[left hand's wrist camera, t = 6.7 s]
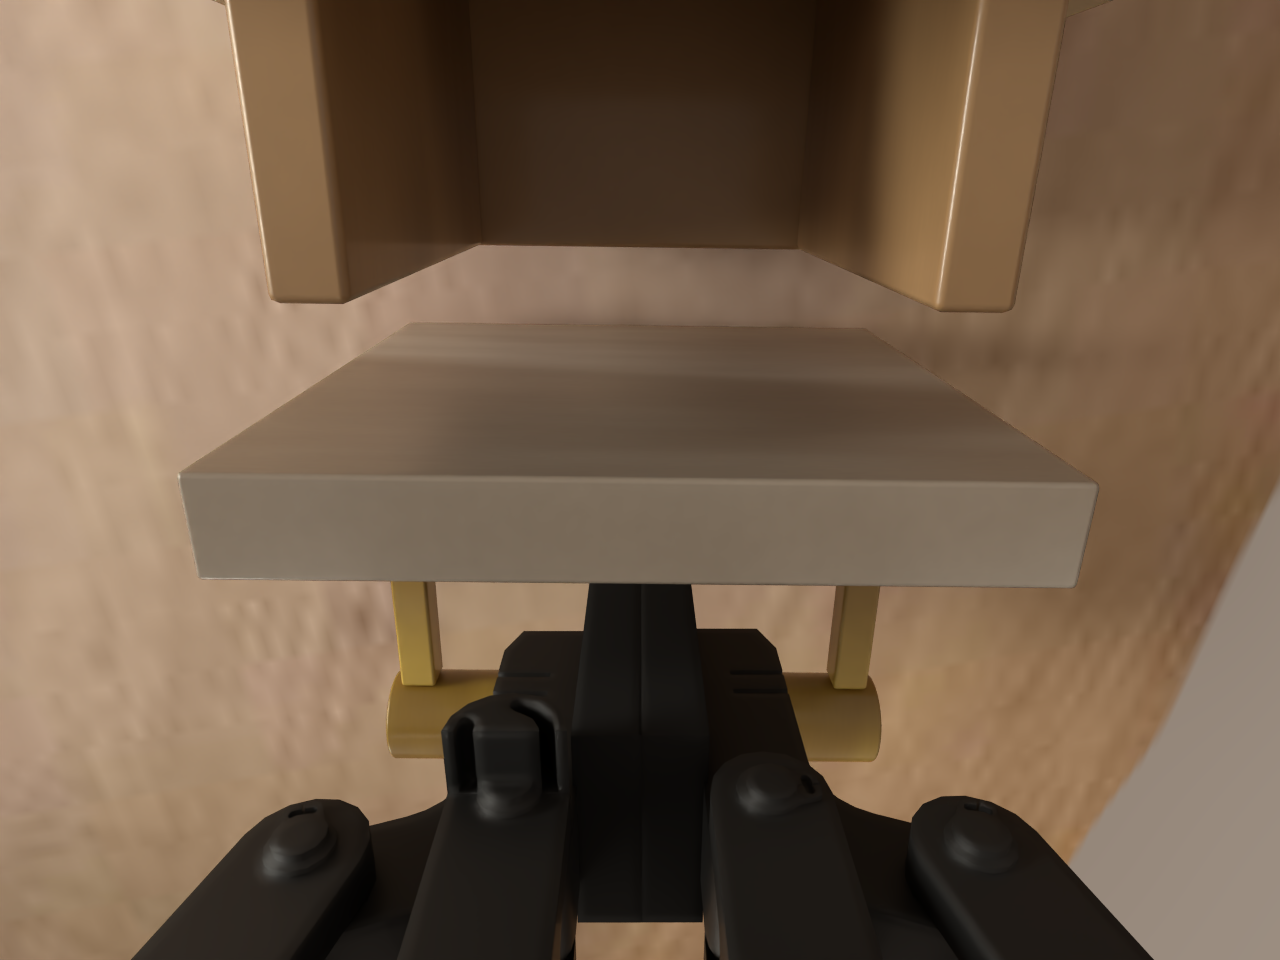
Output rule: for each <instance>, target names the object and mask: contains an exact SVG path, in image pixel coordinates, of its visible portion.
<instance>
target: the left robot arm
mask: <svg viewBox="0 0 1280 960" xmlns="http://www.w3.org/2000/svg"><path fill="white" fill-rule="evenodd" d="M441 737H442V746H443V755H444V764H445V773H446V782H447V791H448V794H447V798H446V799H445V800H444V801H442V802H440V803H438V804H437V805H435V806H433V807H431V808H429V809H427V810H425V811H422V812H419V813H416V814H413V815H410V816H407V817H403V818H399V819H395V820H391V821H387V822H383V823H379V824H375V825H371V826H369V821H368V819H367V818H366V817H365V816H364V814H363V813H362V812H361V811H360V809H359V808H358V807H356V806H354V805H351V804H349V803H346V802H344V801H341V800H331V799H314V800H310V801H306V802H301V803H297V804H293V805H289V806H287V807H285V808H283V809H281V810H279V811H277V812H275V813H273V814H271V815H269V816H267V817H265V818H264V819H263V820H262V821H261V822H259V823H258V824H257V825H256V826H255V827H253V828H252V829H251V830H250V831H249V832H247V833H246V834H245V835H244V836H243V837H242V838H241V839H240V840H239V842H238V843H237V844H236V845H235V846H234V847H233V848H232V849H231V850H230V851H229V853H228V854H227V855H226V856H225V857H224V858H223V859H222V860H221V861H220V862H219V864H218V865H217V866H216V867H215V868H214V869H213V870H212V871H211V872H210V873H209V875H208V876H207V877H206V878H205V879H204V880H203V881H202V882H201V883H200V884H199V886H198V887H197V888H196V889H195V890H194V891H193V892H192V893H191V894H190V895H189V897H188V898H187V899H186V900H185V901H184V902H183V903H182V904H181V905H180V906H179V908H178V909H177V910H176V911H175V912H174V913H173V914H172V915H171V916H170V917H169V919H168V920H167V921H166V922H165V923H164V924H163V925H162V926H161V927H160V928H159V930H158V931H157V932H156V933H155V934H154V935H153V936H152V937H151V938H150V940H149V941H148V942H147V943H146V944H145V945H144V946H143V947H142V948H141V949H140V951H139V952H138V953H137V954H136V955H135V956H134V957H133V958H132V959H131V960H576V942H575V935H576V924H577V914H578V922H703V915H704V927H705V942H704V960H1154V959H1153V958H1152V957H1151V956H1150V955H1149V954H1148V953H1147V952H1146V951H1145V950H1144V948H1143V947H1142V946H1141V945H1140V944H1139V943H1138V942H1137V941H1136V940H1135V939H1134V937H1133V936H1132V935H1131V934H1130V933H1129V932H1128V931H1127V930H1126V929H1125V928H1124V927H1123V925H1122V924H1121V923H1120V922H1119V921H1118V920H1117V919H1116V918H1115V917H1114V916H1113V915H1112V913H1111V912H1110V911H1109V910H1108V909H1107V908H1106V907H1105V906H1104V905H1103V904H1102V903H1101V901H1100V900H1099V899H1098V898H1097V897H1096V896H1095V895H1094V894H1093V893H1092V892H1091V890H1090V889H1089V888H1088V887H1087V886H1086V885H1085V884H1084V883H1083V882H1082V881H1081V880H1080V878H1079V877H1078V876H1077V875H1076V874H1075V873H1074V872H1073V871H1072V870H1071V869H1070V868H1069V866H1068V865H1067V864H1066V863H1065V862H1064V861H1063V860H1062V859H1061V858H1060V857H1059V855H1058V854H1057V853H1056V852H1055V851H1054V850H1053V849H1052V848H1051V847H1050V846H1049V845H1048V843H1047V842H1046V841H1045V840H1044V839H1043V838H1042V837H1041V836H1040V835H1039V834H1038V833H1037V831H1035V830H1034V829H1033V828H1032V827H1031V826H1029V825H1028V824H1027V823H1026V822H1025V821H1023V820H1022V819H1021V818H1020V817H1019V816H1017V815H1016V814H1014V813H1012V812H1010V811H1008V810H1006V809H1004V808H1002V807H1000V806H998V805H996V804H994V803H992V802H989V801H985V800H981V799H976V798H972V797H968V796H943V797H939V798H937V799H934V800H932V801H929V802H927V803H924V804H923V805H922V806H921V807H920V808H919V810H918V811H917V812H916V813H915V815H914V816H913V817H912V822H911V823H910V822H906V821H902V820H898V819H894V818H890V817H886V816H882V815H878V814H874V813H871V812H868V811H865V810H862V809H859V808H856V807H854V806H852V805H850V804H848V803H846V802H844V801H842V800H841V799H839V798H837V797H836V796H835V795H833V793H832V791H831V790H830V788H829V786H828V784H827V783H826V781H825V779H824V778H823V776H822V775H821V774H819V773H818V772H817V771H816V770H814V769H813V768H812V767H811V766H810V765H809V762H808V759H807V755H806V752H805V748H804V744H803V741H802V737H801V734H800V730H799V727H798V723H797V720H796V716H795V713H794V709H793V706H792V702H791V699H790V695H789V694H788V688H787V685H786V681H785V678H784V675H782V667H781V664H780V660H779V657H778V653H777V650H776V648H775V647H774V646H773V645H772V644H771V643H770V642H769V641H768V640H767V639H766V638H765V637H764V636H763V635H762V634H761V633H760V632H759V631H758V630H757V629H697V628H696V620H695V612H694V604H693V596H692V588H691V584H614V583H589V591H588V599H587V607H586V616H585V624H584V631H524V632H523V633H522V634H521V635H520V636H519V637H518V638H517V639H516V640H515V641H514V642H513V643H512V644H511V645H510V646H509V647H508V648H507V649H506V650H505V651H504V655H503V658H502V662H501V665H500V669H499V672H498V677H497V679H496V683H495V686H494V690H493V695H490V696H487V697H484V698H482V699H479V700H476V701H474V702H471V703H468V704H467V705H465V706H464V707H463V708H461V709H460V710H458V711H457V712H456V713H454V714H453V715H452V716H451V717H450V718H449V720H448V721H447V723H446V724H445V726H444V727H443V729H442V730H441Z"/></svg>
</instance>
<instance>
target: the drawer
mask: <svg viewBox="0 0 1280 960" xmlns="http://www.w3.org/2000/svg"><path fill="white" fill-rule="evenodd" d="M1068 4H1069V0H225V6H226V13H227V20H228V26H229V33H230V40H231V46H232V53H233V60H234V67H235V73H236V80H237V87H238V93H239V100H240V107H241V113H242V120H243V127H244V133H245V140H246V147H247V153H248V160H249V167H250V173H251V180H252V187H253V193H254V200H255V207H256V214H257V220H258V227H259V234H260V240H261V247H262V254H263V260H264V267H265V274H266V280H267V287H268V294H269V296H270V298H271V300H274V301H276V302H279V303H315V304H344V303H346V302H349V301H351V300H353V299H356V298H358V297H360V296H362V295H365V294H367V293H369V292H372V291H374V290H376V289H379V288H381V287H383V286H385V285H388V284H390V283H392V282H395V281H397V280H399V279H401V278H404V277H406V276H408V275H411V274H413V273H415V272H418V271H420V270H422V269H424V268H427V267H429V266H431V265H434V264H436V263H438V262H441V261H443V260H445V259H447V258H450V257H452V256H454V255H457V254H459V253H461V252H463V251H466V250H468V249H470V248H473V247H475V246H477V245H522V246H593V247H663V248H734V249H800V250H803V251H805V252H807V253H809V254H812V255H814V256H816V257H818V258H821V259H823V260H825V261H827V262H830V263H832V264H834V265H836V266H839V267H841V268H843V269H845V270H848V271H850V272H852V273H854V274H857V275H859V276H861V277H863V278H866V279H868V280H870V281H872V282H875V283H877V284H879V285H881V286H884V287H886V288H888V289H890V290H893V291H895V292H897V293H899V294H902V295H904V296H906V297H908V298H911V299H913V300H915V301H917V302H920V303H922V304H924V305H926V306H929V307H931V308H933V309H935V310H938V311H940V312H984V313H1003V312H1006V311H1009V310H1012V308H1013V306H1014V304H1015V299H1016V293H1017V288H1018V282H1019V277H1020V271H1021V266H1022V260H1023V254H1024V249H1025V243H1026V238H1027V232H1028V226H1029V221H1030V215H1031V210H1032V204H1033V199H1034V193H1035V187H1036V182H1037V176H1038V171H1039V165H1040V160H1041V154H1042V148H1043V143H1044V137H1045V132H1046V126H1047V121H1048V115H1049V109H1050V104H1051V98H1052V93H1053V87H1054V82H1055V76H1056V70H1057V65H1058V59H1059V54H1060V48H1061V43H1062V37H1063V31H1064V26H1065V20H1066V15H1067V9H1068ZM177 480H178V485H179V490H180V494H181V499H182V504H183V509H184V514H185V519H186V523H187V528H188V533H189V538H190V543H191V548H192V552H193V557H194V562H195V567H196V572H197V576H198V577H199V578H200V579H220V580H318V581H391V589H392V598H393V607H394V616H395V625H396V634H397V643H398V652H399V662H400V671H399V672H398V674H397V675H396V677H395V679H394V682H393V685H392V688H391V691H390V695H389V701H388V707H387V717H386V735H387V743H388V748H389V751H390V754H391V755H392V756H393V757H395V758H444V755H443V746H442V737H441V730H442V729H443V727H444V726H445V724H446V723H447V721H448V720H449V718H450V717H451V716H452V715H453V714H454V713H456V712H457V711H458V710H460V709H461V708H463V707H464V706H465V705H467V704H468V703H471V702H474V701H476V700H479V699H482V698H484V697H487V696H490V695H493V690H494V686H495V683H496V679H497V677H498V672H499V670H456V669H442V667H443V666H442V654H441V643H440V631H439V620H438V608H437V597H436V585H435V582H516V583H614V584H713V585H811V586H836V593H835V601H834V610H833V619H832V627H831V636H830V645H829V654H828V662H827V672H828V673H786V672H782V675H784V678H785V681H786V685H787V688H788V694H789V695H790V699H791V702H792V706H793V709H794V713H795V716H796V720H797V723H798V727H799V730H800V734H801V737H802V741H803V744H804V748H805V752H806V755H807V759H808V761H820V762H872V761H874V760H875V759H876V757H877V755H878V752H879V748H880V742H881V712H880V705H879V699H878V695H877V691H876V688H875V685H874V683H873V681H872V679H871V677H870V676H869V675H868V672H869V664H870V657H871V650H872V642H873V635H874V628H875V621H876V613H877V606H878V599H879V591H880V586H910V587H1009V588H1074V587H1075V586H1076V585H1077V581H1078V577H1079V573H1080V568H1081V564H1082V560H1083V556H1084V552H1085V547H1086V543H1087V539H1088V535H1089V530H1090V526H1091V522H1092V518H1093V513H1094V509H1095V505H1096V501H1097V496H1098V492H1099V485H1098V483H1097V482H1095V481H1094V480H1092V479H1091V478H1089V477H1088V476H1086V475H1085V474H1083V473H1082V472H1080V471H1079V470H1077V469H1076V468H1074V467H1073V466H1071V465H1070V464H1068V463H1067V462H1065V461H1064V460H1062V459H1061V458H1059V457H1058V456H1056V455H1055V454H1053V453H1052V452H1050V451H1048V450H1047V449H1045V448H1044V447H1042V446H1041V445H1039V444H1038V443H1036V442H1035V441H1033V440H1032V439H1030V438H1029V437H1027V436H1026V435H1024V434H1023V433H1021V432H1020V431H1018V430H1017V429H1015V428H1014V427H1012V426H1011V425H1009V424H1008V423H1006V422H1005V421H1003V420H1002V419H1000V418H999V417H997V416H996V415H994V414H993V413H991V412H990V411H988V410H987V409H985V408H984V407H982V406H981V405H979V404H978V403H976V402H975V401H973V400H972V399H970V398H969V397H967V396H966V395H964V394H963V393H961V392H960V391H958V390H957V389H955V388H954V387H952V386H951V385H949V384H948V383H946V382H945V381H943V380H942V379H940V378H939V377H937V376H936V375H934V374H933V373H931V372H930V371H928V370H927V369H925V368H924V367H922V366H921V365H919V364H918V363H916V362H915V361H913V360H912V359H910V358H909V357H907V356H906V355H904V354H902V353H901V352H899V351H898V350H896V349H895V348H893V347H892V346H890V345H889V344H887V343H886V342H884V341H883V340H881V339H880V338H878V337H877V336H875V335H874V334H872V333H871V332H869V331H868V330H866V329H860V328H785V327H709V326H634V325H558V324H482V323H409V324H407V325H406V326H404V327H403V328H401V329H400V330H398V331H397V332H395V333H394V334H392V335H390V336H389V337H387V338H386V339H384V340H383V341H381V342H380V343H378V344H377V345H375V346H374V347H372V348H370V349H369V350H367V351H366V352H364V353H363V354H361V355H360V356H358V357H357V358H355V359H353V360H352V361H350V362H349V363H347V364H346V365H344V366H343V367H341V368H340V369H338V370H337V371H335V372H333V373H332V374H330V375H329V376H327V377H326V378H324V379H323V380H321V381H320V382H318V383H316V384H315V385H313V386H312V387H310V388H309V389H307V390H306V391H304V392H303V393H301V394H300V395H298V396H296V397H295V398H293V399H292V400H290V401H289V402H287V403H286V404H284V405H283V406H281V407H279V408H278V409H276V410H275V411H273V412H272V413H270V414H269V415H267V416H266V417H264V418H263V419H261V420H259V421H258V422H256V423H255V424H253V425H252V426H250V427H249V428H247V429H246V430H244V431H242V432H241V433H239V434H238V435H236V436H235V437H233V438H232V439H230V440H229V441H227V442H225V443H224V444H222V445H221V446H219V447H218V448H216V449H215V450H213V451H212V452H210V453H209V454H207V455H205V456H204V457H202V458H201V459H199V460H198V461H196V462H195V463H193V464H192V465H190V466H188V467H187V468H185V469H184V470H182V471H181V472H179V473H178V477H177Z"/></svg>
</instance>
